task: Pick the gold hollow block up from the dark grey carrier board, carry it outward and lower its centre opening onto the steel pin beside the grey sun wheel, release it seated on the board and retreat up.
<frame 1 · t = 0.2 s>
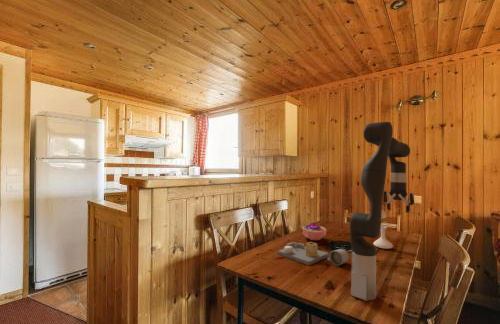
hand: (398, 211, 131), 29 cm above the table, tool pointing down, fingers open, 8 cm apart
ceramic mug: (336, 263, 134), on the table
carrier: (302, 255, 144), on the table
flower in vase: (381, 247, 161), on the table
cell model: (313, 239, 177), on the table
gold hollow block: (311, 254, 140), point 2 cm above the table, touching carrier
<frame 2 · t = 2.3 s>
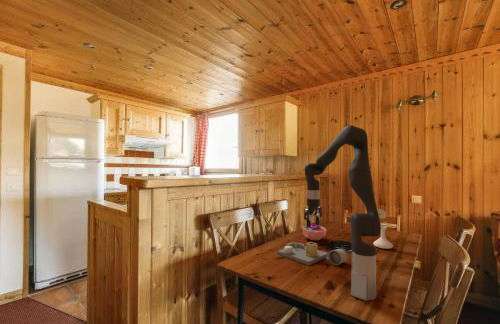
hand: (313, 225, 140), 18 cm above the table, tool pointing down, fingers open, 8 cm apart
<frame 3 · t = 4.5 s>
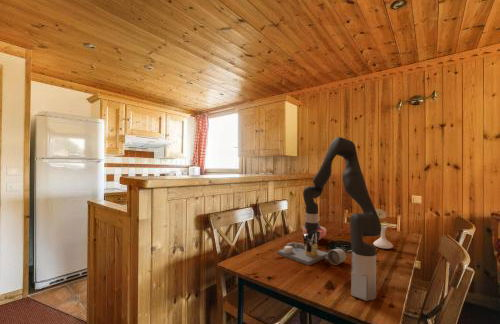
hand: (311, 250, 140), 4 cm above the table, tool pointing down, fingers closed on gold hollow block, 4 cm apart
gold hollow block: (311, 254, 140), point 2 cm above the table, touching carrier, gripper
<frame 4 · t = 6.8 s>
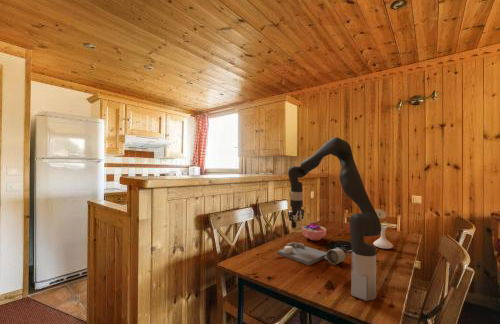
hand: (296, 227, 148), 16 cm above the table, tool pointing down, fingers closed on gold hollow block, 4 cm apart
gold hollow block: (296, 230, 148), point 13 cm above the table, touching gripper
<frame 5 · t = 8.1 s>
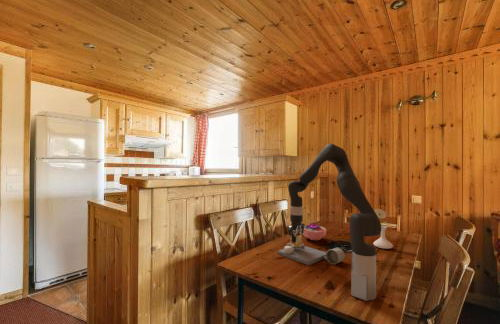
hand: (296, 241, 148), 7 cm above the table, tool pointing down, fingers closed on gold hollow block, 4 cm apart
gold hollow block: (296, 245, 148), point 5 cm above the table, touching gripper
when the fingers open (5 cm above the table, at t = 9.2 s): gold hollow block stays where it is, resting on carrier.
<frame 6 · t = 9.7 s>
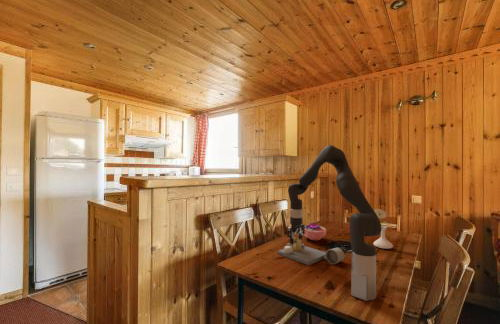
hand: (296, 242, 148), 6 cm above the table, tool pointing down, fingers open, 8 cm apart
gold hollow block: (295, 249, 148), point 2 cm above the table, touching carrier
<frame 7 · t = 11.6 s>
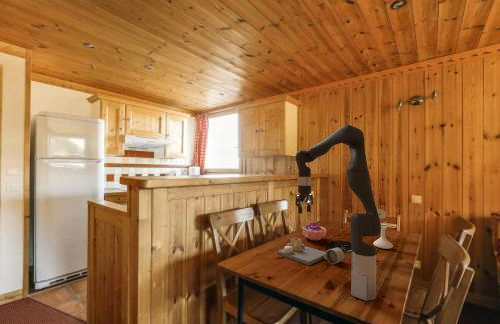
hand: (304, 212, 141), 26 cm above the table, tool pointing down, fingers open, 8 cm apart
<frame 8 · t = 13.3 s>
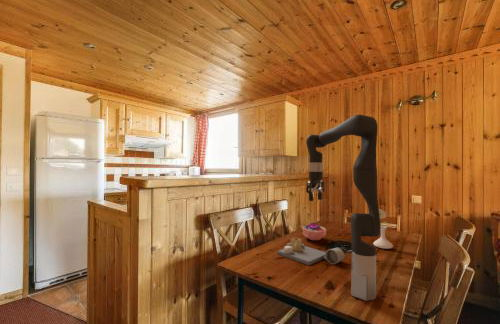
hand: (315, 200, 134), 34 cm above the table, tool pointing down, fingers open, 8 cm apart
at the end: gold hollow block 0.1 cm from the target spot on the carrier, point 2.0 cm above the carrier's base; gold hollow block tilted 0°; the gripper is holding nothing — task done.
